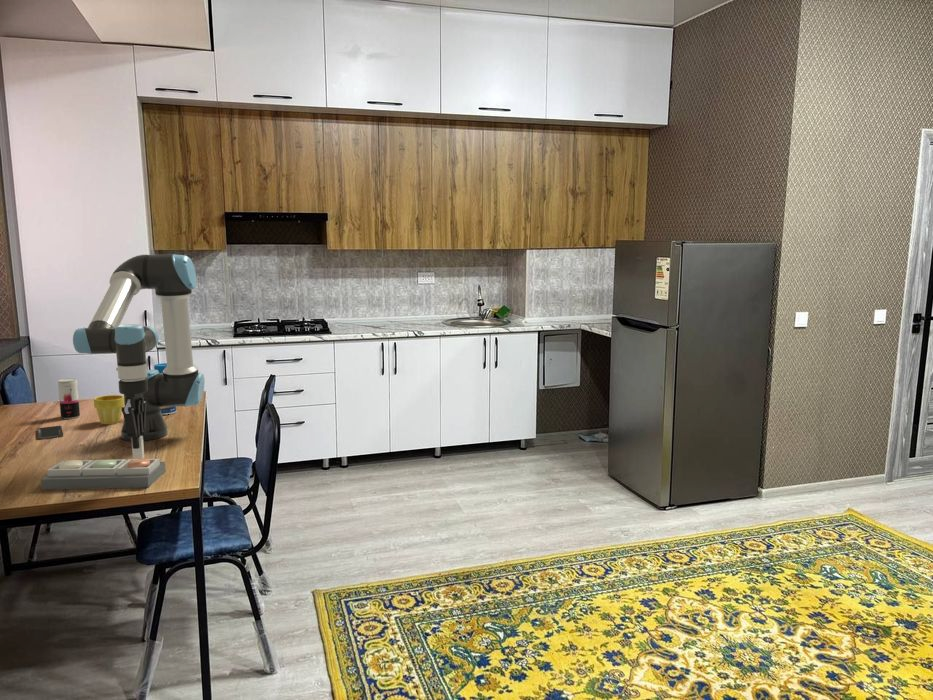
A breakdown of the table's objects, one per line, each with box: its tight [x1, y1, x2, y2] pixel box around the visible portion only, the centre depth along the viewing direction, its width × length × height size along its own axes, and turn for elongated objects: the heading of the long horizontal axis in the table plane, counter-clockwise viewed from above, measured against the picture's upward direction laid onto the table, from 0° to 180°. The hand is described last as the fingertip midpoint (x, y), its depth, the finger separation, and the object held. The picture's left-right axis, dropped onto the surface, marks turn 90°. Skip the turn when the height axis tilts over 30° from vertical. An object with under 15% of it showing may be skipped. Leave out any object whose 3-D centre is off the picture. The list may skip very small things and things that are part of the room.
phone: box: [36, 425, 64, 441], centre depth 252 cm, size 8×1×15 cm
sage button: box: [93, 459, 117, 468], centre depth 203 cm, size 6×6×2 cm
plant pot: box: [93, 394, 125, 425], centre depth 268 cm, size 10×10×10 cm
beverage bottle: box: [153, 362, 178, 416], centre depth 282 cm, size 8×8×20 cm
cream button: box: [59, 459, 83, 469], centre depth 202 cm, size 6×6×2 cm
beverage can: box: [57, 377, 81, 420], centre depth 275 cm, size 7×7×15 cm
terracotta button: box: [127, 458, 150, 468], centre depth 203 cm, size 6×6×2 cm
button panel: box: [40, 458, 167, 491], centre depth 203 cm, size 14×29×5 cm, turn 95°
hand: (138, 457), depth 203 cm, fingers closed
